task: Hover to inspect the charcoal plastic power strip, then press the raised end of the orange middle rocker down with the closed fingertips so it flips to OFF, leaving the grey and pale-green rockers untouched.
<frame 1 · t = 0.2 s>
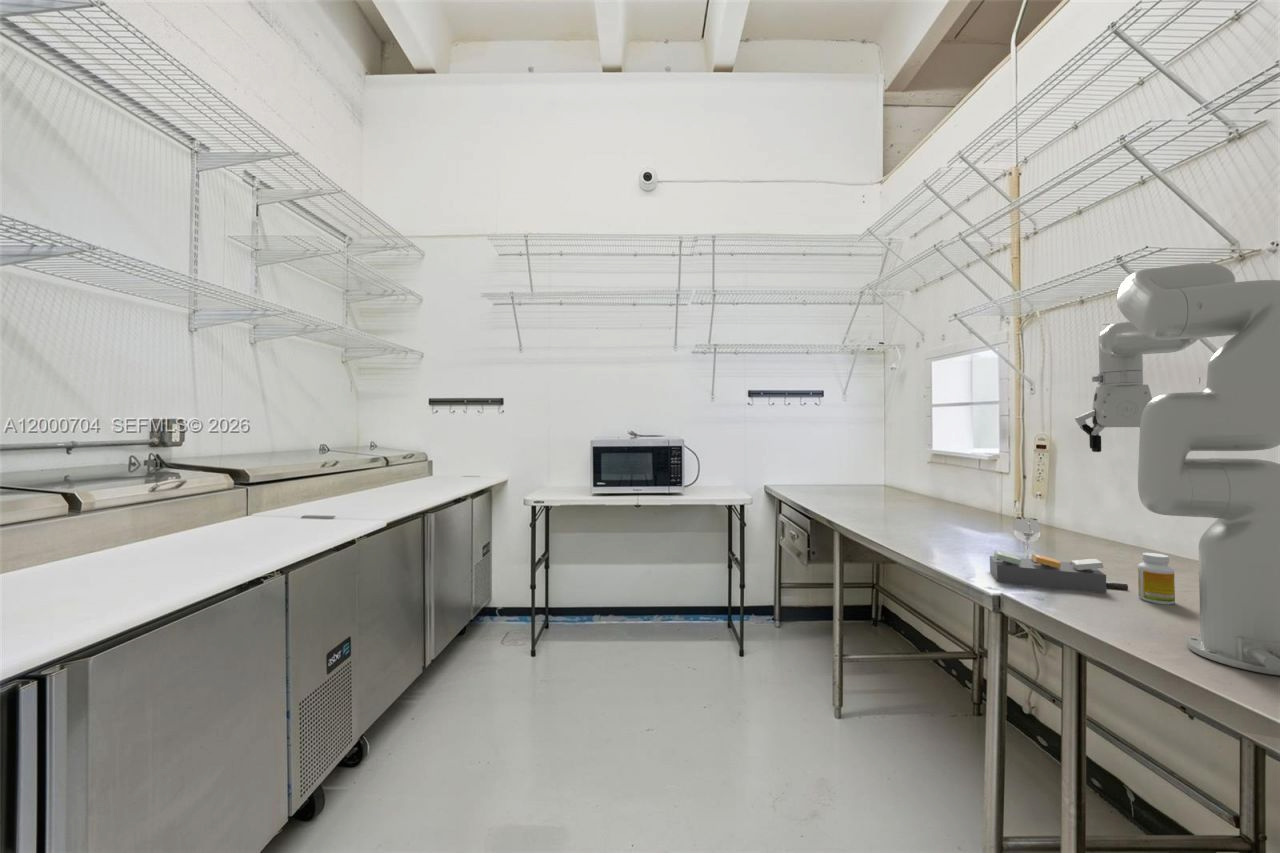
hand: (1122, 451, 120), 31 cm above the table, fingers open, 9 cm apart
supplement bottle: (1156, 601, 106), on the table
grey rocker: (1086, 564, 115), point 5 cm above the table, hinge at -12.0°
power strip: (1043, 581, 120), on the table
green rocker: (1007, 557, 122), point 5 cm above the table, hinge at 12.0°
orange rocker: (1045, 560, 119), point 5 cm above the table, hinge at 12.0°
wineglass: (1027, 563, 137), on the table
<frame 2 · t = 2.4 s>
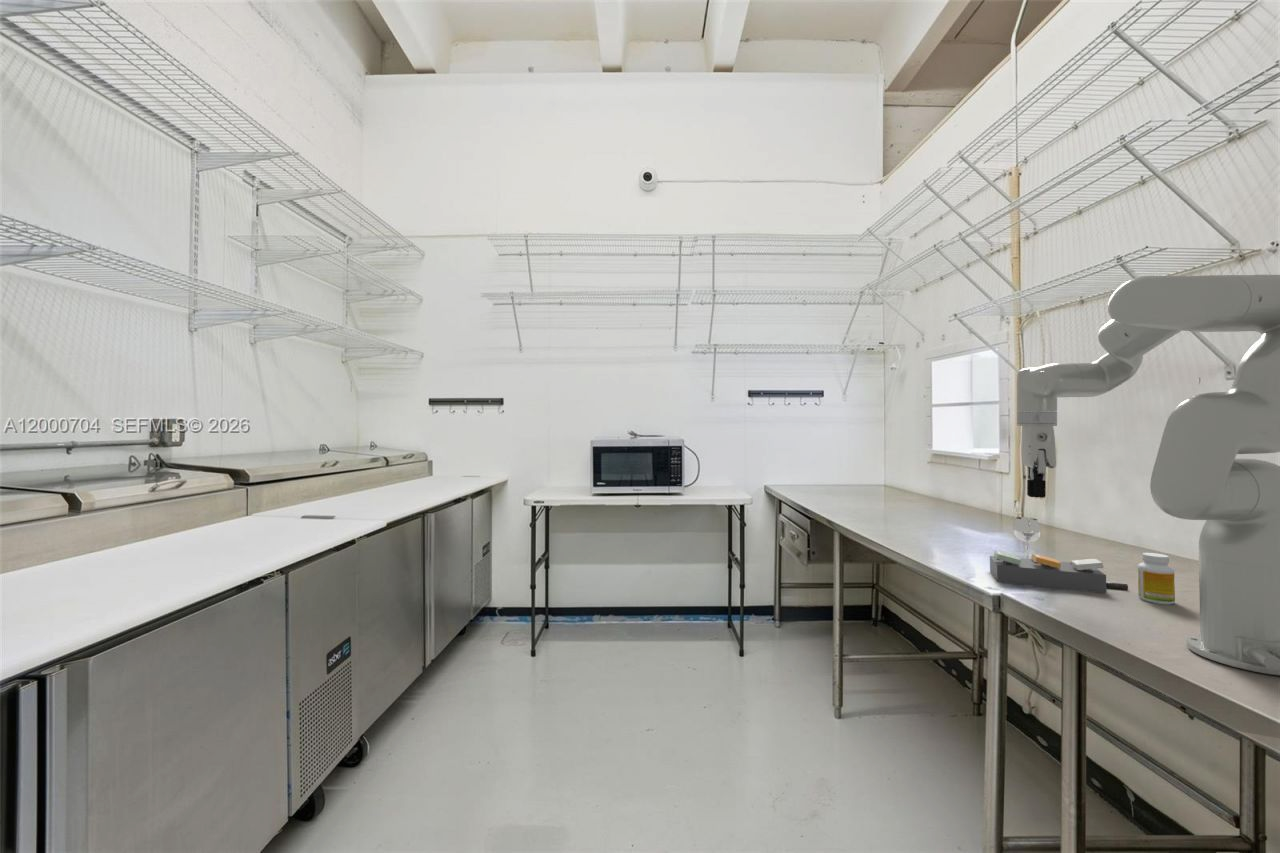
hand: (1036, 496, 119), 21 cm above the table, fingers closed
nothing on the table moved.
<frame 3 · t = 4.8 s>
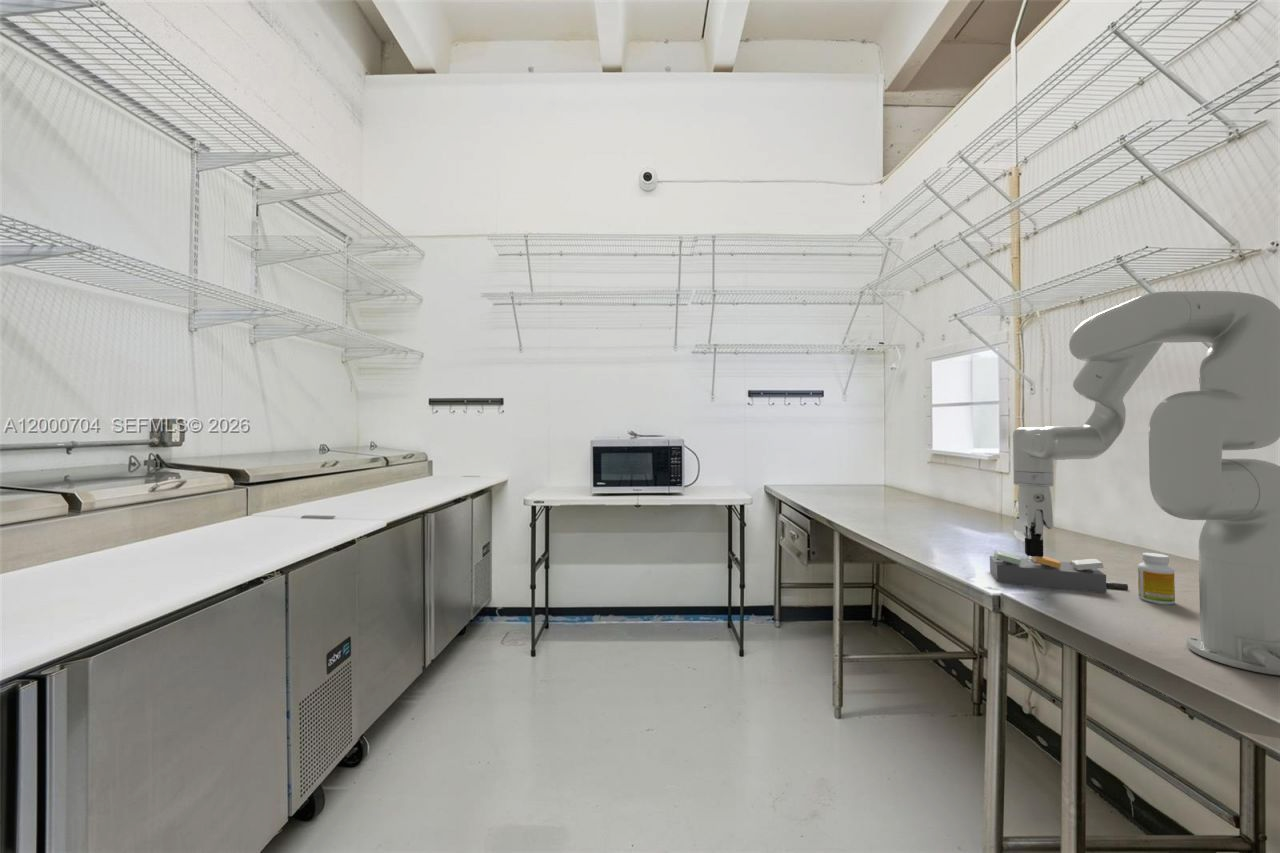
hand: (1034, 555, 120), 6 cm above the table, fingers closed
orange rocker: (1045, 560, 119), point 5 cm above the table, hinge at 11.9°, touching gripper
everything else where it was.
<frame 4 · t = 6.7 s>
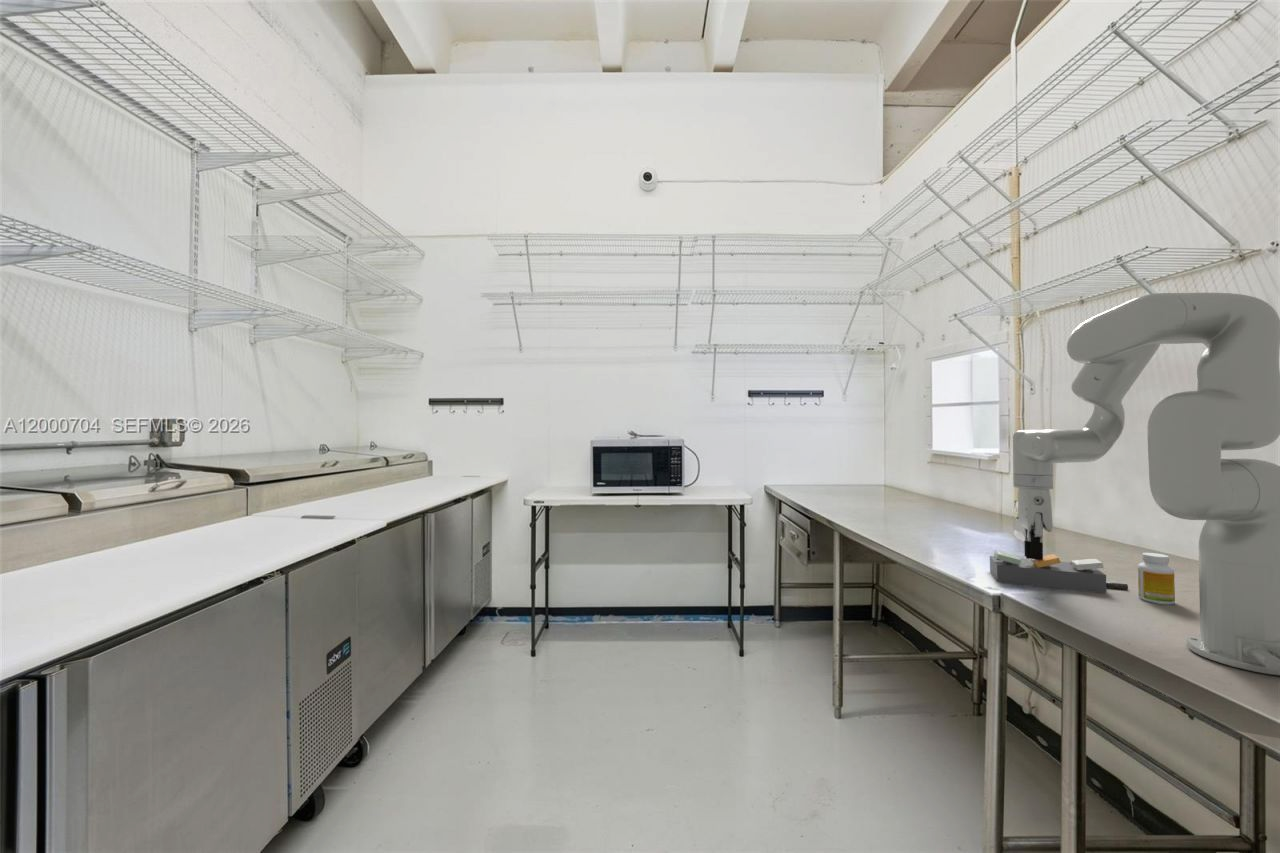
hand: (1033, 558, 120), 6 cm above the table, fingers closed
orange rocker: (1045, 560, 119), point 5 cm above the table, hinge at -21.1°, touching gripper
everything else where it was.
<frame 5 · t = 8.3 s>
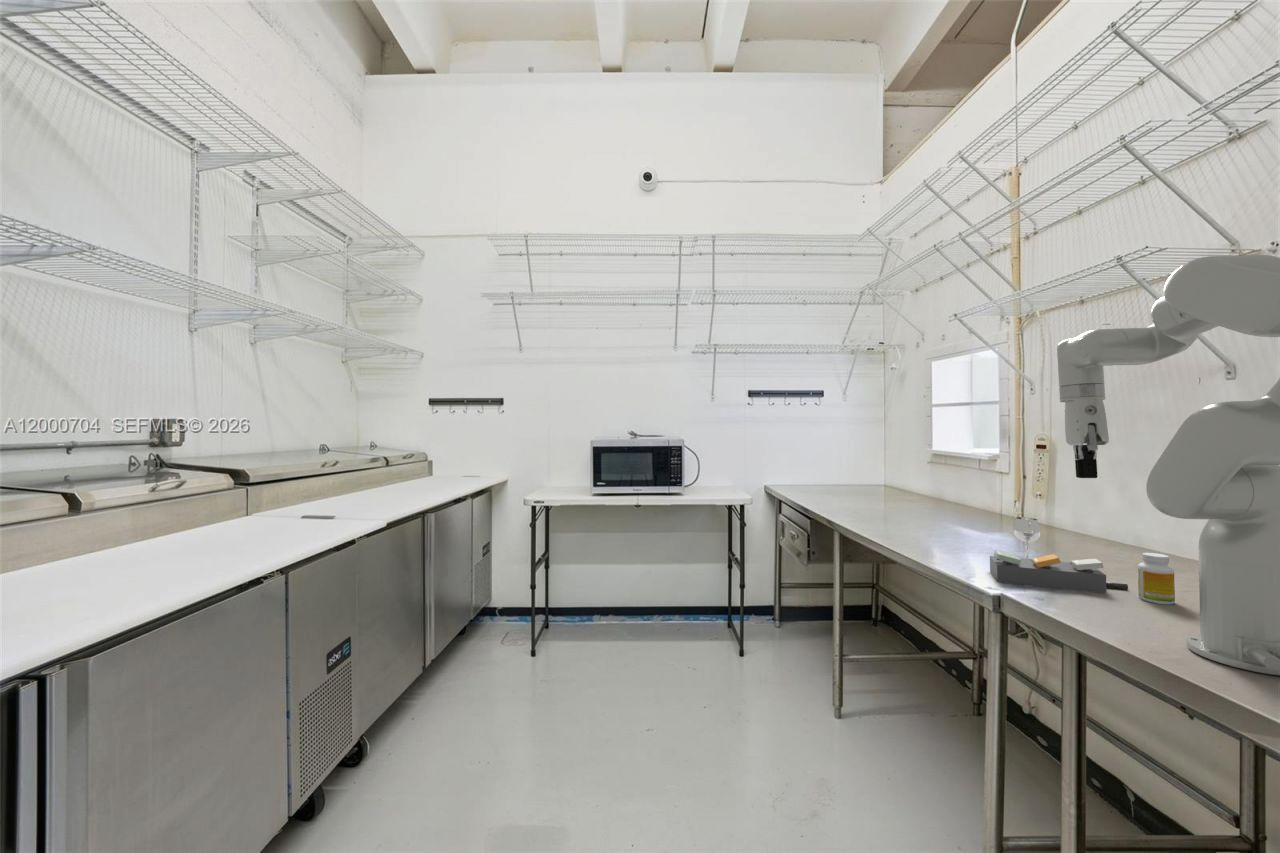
hand: (1086, 477, 109), 26 cm above the table, fingers closed
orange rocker: (1045, 560, 119), point 5 cm above the table, hinge at -20.9°
everything else where it was.
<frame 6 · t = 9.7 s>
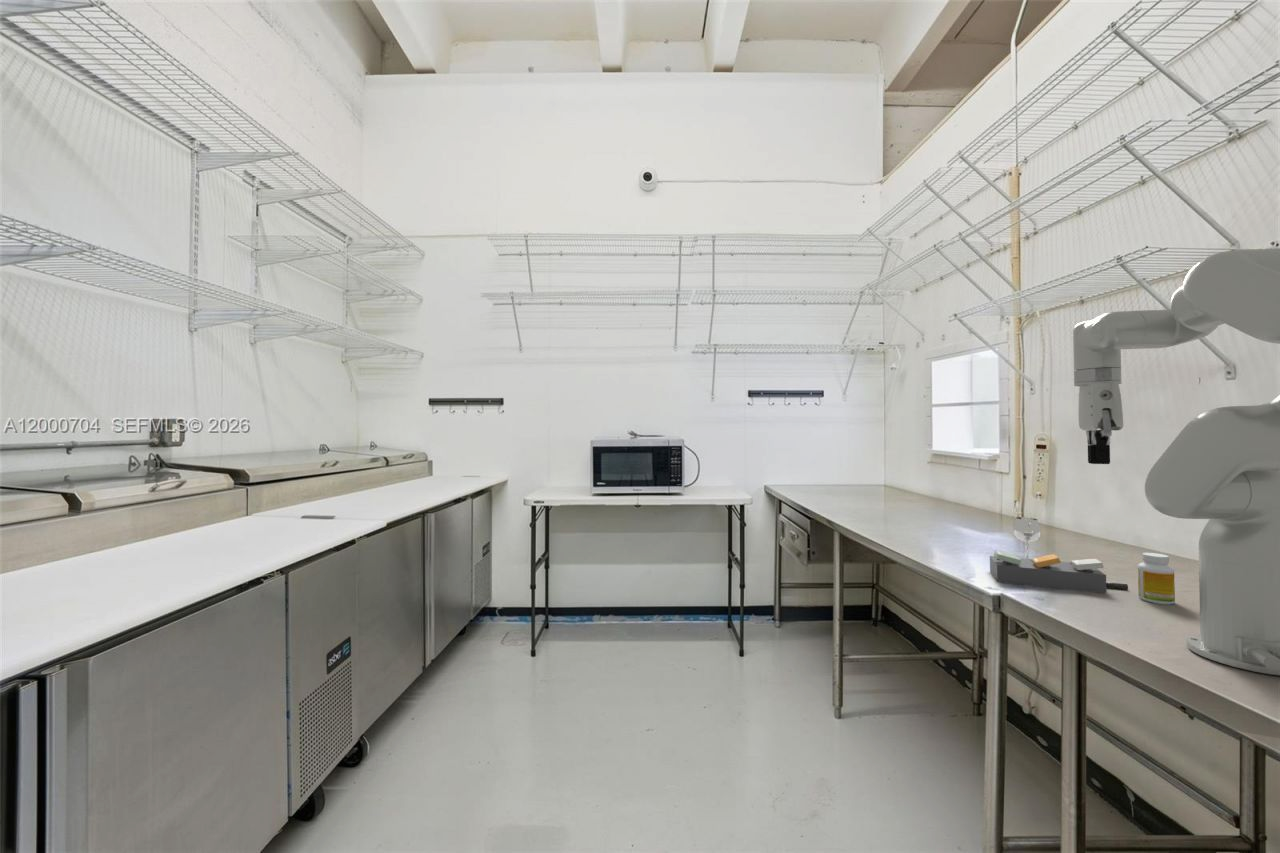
hand: (1098, 463, 107), 29 cm above the table, fingers closed
nothing on the table moved.
at the end: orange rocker at -21° (first picture: +12°); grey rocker at -12° (first picture: -12°); green rocker at +12° (first picture: +12°) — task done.
